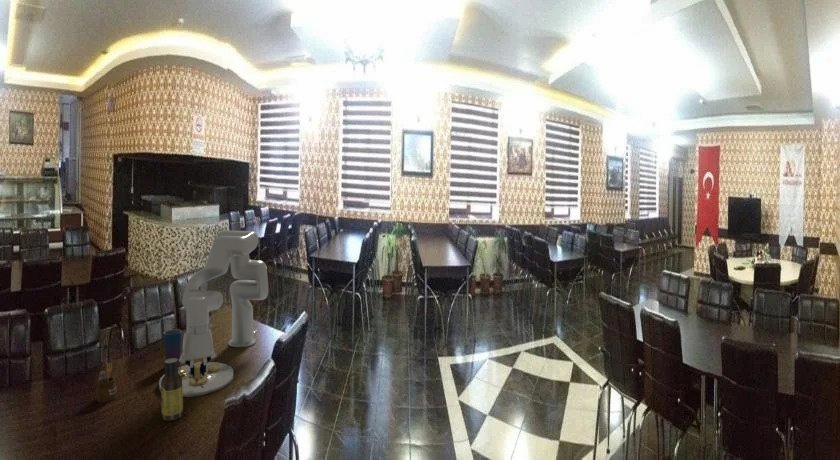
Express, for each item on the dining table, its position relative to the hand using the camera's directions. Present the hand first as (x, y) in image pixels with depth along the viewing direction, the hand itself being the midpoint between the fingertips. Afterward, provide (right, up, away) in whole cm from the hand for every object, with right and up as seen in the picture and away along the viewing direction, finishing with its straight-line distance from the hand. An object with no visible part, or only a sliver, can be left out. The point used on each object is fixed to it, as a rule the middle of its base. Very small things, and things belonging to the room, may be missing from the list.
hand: (198, 374), depth 163 cm
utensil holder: (-28, -5, -10) cm, 30 cm away
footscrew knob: (0, -3, 0) cm, 3 cm away
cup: (-21, -3, +19) cm, 29 cm away
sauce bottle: (+2, -8, -20) cm, 21 cm away
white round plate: (-4, -5, +6) cm, 9 cm away
